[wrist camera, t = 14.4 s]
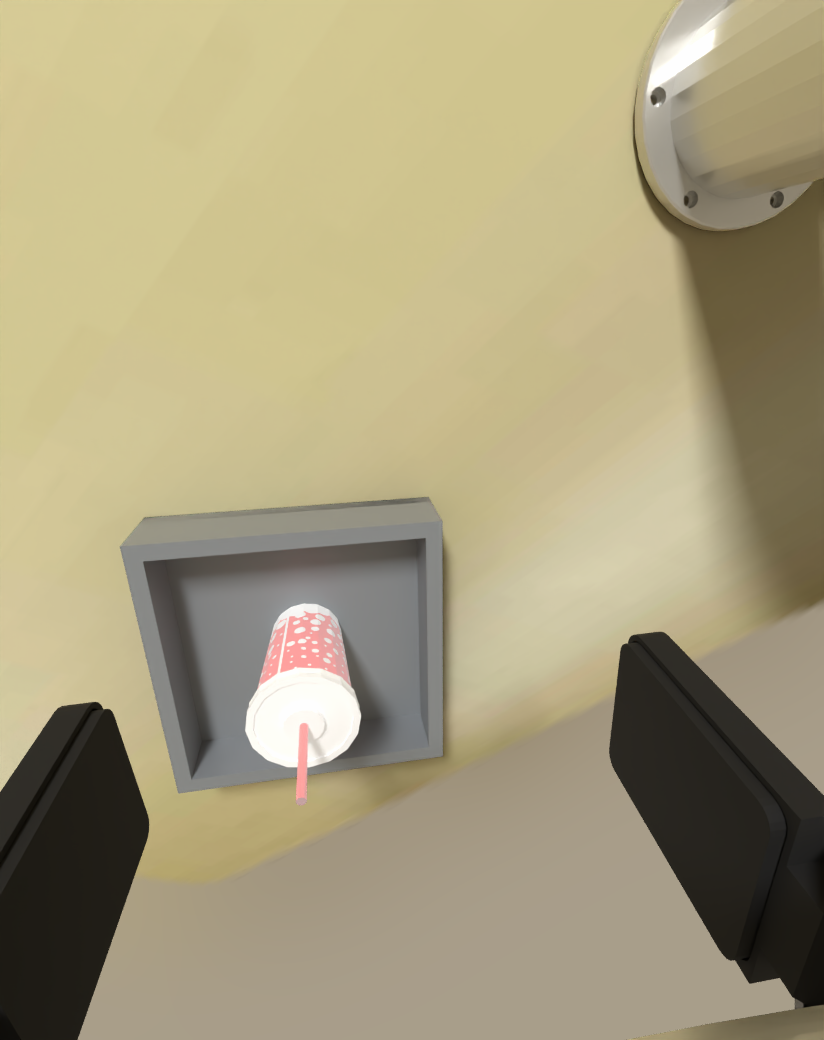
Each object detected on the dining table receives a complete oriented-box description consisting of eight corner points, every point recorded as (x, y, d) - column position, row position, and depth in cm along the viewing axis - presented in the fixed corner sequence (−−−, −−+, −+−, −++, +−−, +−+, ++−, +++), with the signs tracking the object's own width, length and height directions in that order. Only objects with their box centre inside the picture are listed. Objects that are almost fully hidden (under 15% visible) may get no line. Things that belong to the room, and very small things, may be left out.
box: (428, 497, 36) (442, 521, 32) (430, 713, 43) (442, 756, 39) (144, 517, 34) (119, 546, 30) (192, 743, 40) (178, 793, 36)
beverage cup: (288, 683, 39) (274, 869, 26) (243, 617, 36) (203, 786, 23) (366, 646, 39) (390, 814, 26) (326, 578, 36) (331, 725, 23)
